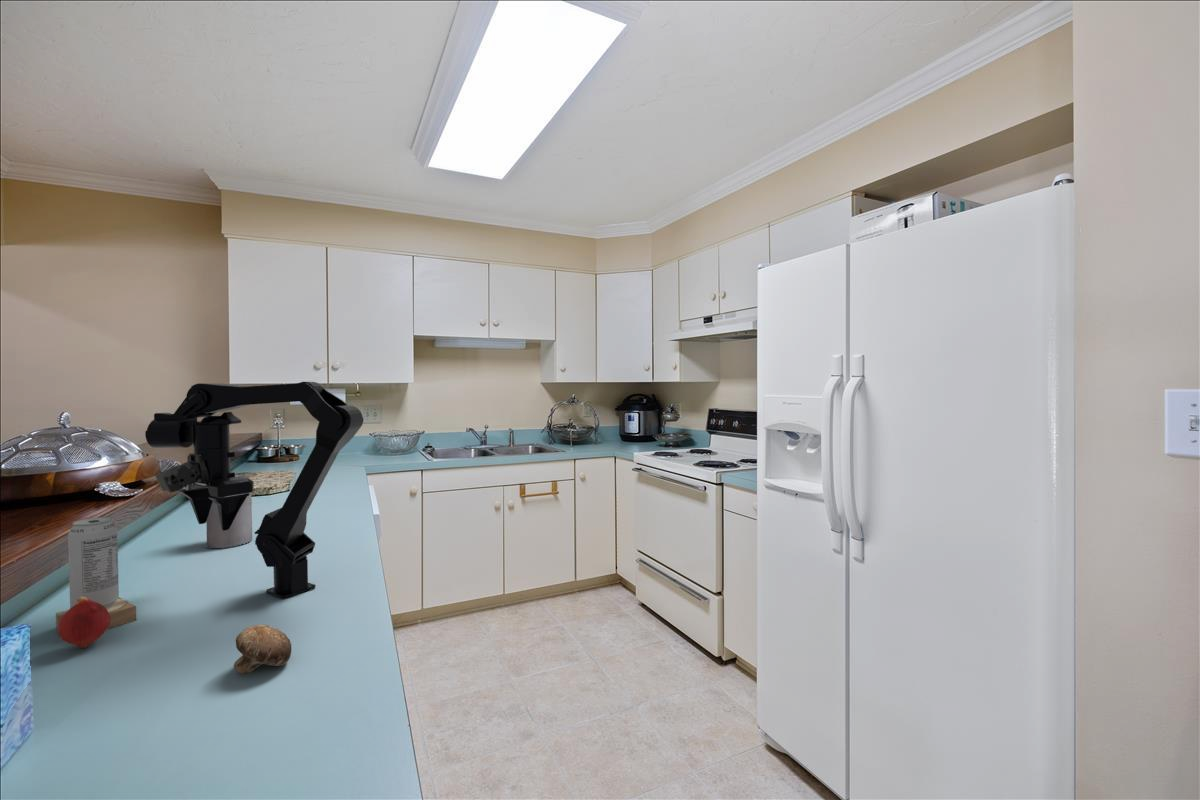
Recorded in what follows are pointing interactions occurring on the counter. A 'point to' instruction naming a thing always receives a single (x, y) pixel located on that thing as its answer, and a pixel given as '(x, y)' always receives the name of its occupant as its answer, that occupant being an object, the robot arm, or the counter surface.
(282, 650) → the mushroom
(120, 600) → the pedestal
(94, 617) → the pomegranate
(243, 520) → the pillar candle
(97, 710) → the counter surface
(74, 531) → the energy drink can
